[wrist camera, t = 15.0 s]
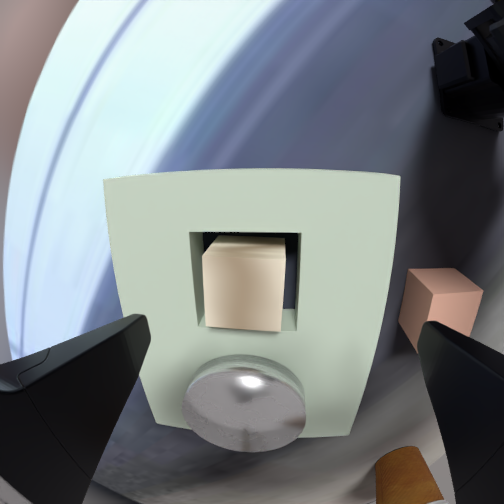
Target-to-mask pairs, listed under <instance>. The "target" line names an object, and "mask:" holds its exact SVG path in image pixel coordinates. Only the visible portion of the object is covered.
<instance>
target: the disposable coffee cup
mask: <svg viewBox="0 0 504 504" xmlns="http://www.w3.org/2000/svg"><path fill="white" fill-rule="evenodd" d="M375 470H376V504H450V503H447V501H446V500H444V498H443V496H442V494H441V492H440V490H439V488H438V486H437V484H436V482H435V480H434V478H433V476H432V474H431V472H430V470H429V468H428V466H427V464H426V462H425V460H424V458H423V456H422V455H421V453H420V451H419V449H418V448H417V447H413V446H410V447H404V448H400V449H397V450H395V451H392V452H390V453H388V454H386V455H385V456H383V457H382V458H380V459H379V460H378V461H377V463H376V465H375Z"/></svg>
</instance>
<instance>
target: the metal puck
mask: <svg viewBox="0 0 504 504" xmlns="http://www.w3.org/2000/svg"><path fill="white" fill-rule="evenodd" d="M182 414H183V417H184V419H185V421H186V423H187V424H188V425H189V427H190V428H191V429H192V430H193V431H194V432H195V433H196V434H198V435H199V436H200V437H202V438H203V439H205V440H207V441H208V442H210V443H212V444H215V445H217V446H220V447H223V448H226V449H230V450H235V451H242V452H263V451H269V450H274V449H277V448H280V447H283V446H285V445H287V444H289V443H291V442H292V441H294V440H295V439H296V438H297V437H298V436H299V435H300V434H301V433H302V431H303V429H304V427H305V424H306V406H305V392H304V388H303V385H302V383H301V381H300V380H299V378H298V377H297V376H296V375H295V374H294V373H293V372H292V371H291V370H290V369H288V368H287V367H285V366H284V365H282V364H280V363H278V362H276V361H273V360H271V359H268V358H264V357H260V356H255V355H247V354H234V355H226V356H221V357H217V358H214V359H212V360H210V361H208V362H206V363H204V364H203V365H201V366H200V367H199V368H198V369H197V370H196V372H195V373H194V375H193V377H192V379H191V381H190V384H189V386H188V389H187V391H186V394H185V396H184V399H183V402H182Z"/></svg>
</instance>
